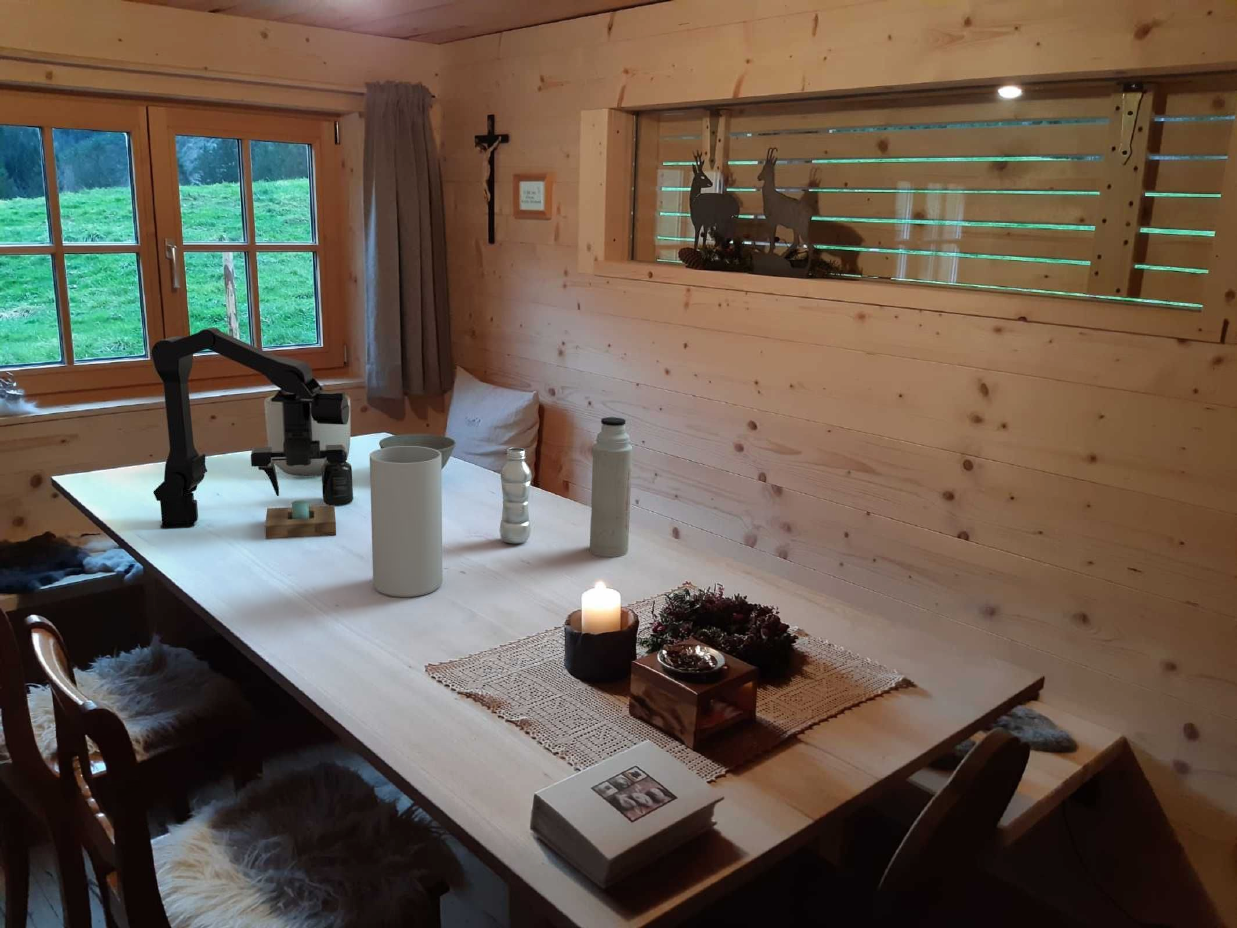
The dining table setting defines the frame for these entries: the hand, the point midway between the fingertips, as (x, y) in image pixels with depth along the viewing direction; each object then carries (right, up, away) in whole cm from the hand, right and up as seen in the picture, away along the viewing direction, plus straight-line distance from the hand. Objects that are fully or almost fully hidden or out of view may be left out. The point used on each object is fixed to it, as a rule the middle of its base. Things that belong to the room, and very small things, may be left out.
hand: (300, 494), depth 206 cm
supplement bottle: (+2, -3, +21) cm, 21 cm away
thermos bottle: (+65, -12, -4) cm, 67 cm away
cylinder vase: (+28, -16, -27) cm, 42 cm away
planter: (-12, +5, +46) cm, 48 cm away
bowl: (+16, +2, +41) cm, 45 cm away
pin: (-1, -7, +2) cm, 7 cm away
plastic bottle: (+46, -10, -1) cm, 47 cm away
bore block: (-1, -7, +2) cm, 8 cm away
